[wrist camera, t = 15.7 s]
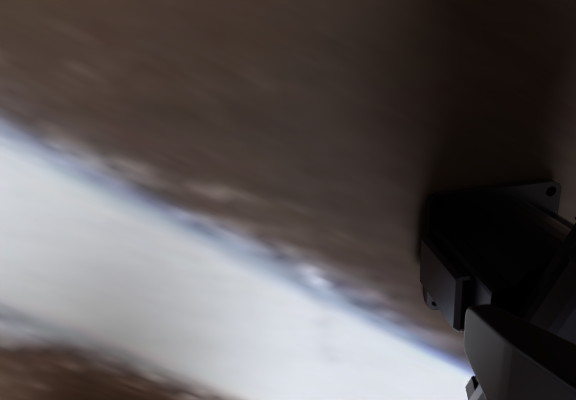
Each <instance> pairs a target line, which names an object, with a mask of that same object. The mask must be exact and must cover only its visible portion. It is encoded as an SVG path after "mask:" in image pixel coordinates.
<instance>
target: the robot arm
mask: <svg viewBox="0 0 576 400" xmlns="http://www.w3.org/2000/svg"><path fill="white" fill-rule="evenodd" d="M549 187H551V189H550V191H549V192H548V193H546V191H547V189H548V188H549ZM560 195H561V186H560V184H559V183H557V182H555V181H554V180H552V179H543V180H534V181H526V182H518V183H510V184H501V185H493V186H485V187H477V188H468V189H460V190H452V191H444V192H436V193H433V194H432V195H430V196H429V198H428V199H427V207H426V234H425V235H424V236H423V237H422V239H421V261H420V281H421V283H422V285H423V286H424V301H425V303H426V305H427V306H428V307H429V309H432V310H439V309H440V311H441V312H442V314H443V315H444V317H445V318H446V319H447V321H448V322H449V324H450V325H451V327H452V328H453V329H455V330H456V331H457V332H462V331H464V349H465V353H466V356H467V358H468V360H469V363H470V365H471V367H472V369H473V371H474V374H475V376H472V377H471V379H470V380H469V382H468V384H467V385H466V392H467V396H468V400H576V223H575V225H574V224H572V223H571V222H569V221H568V220H566V219H564V218H563V217H561V216H559V215H558V208H559V201H560ZM439 200H442V203H441V204H440V205H439V206H437V207H435V203H436V202H437V201H439ZM575 220H576V217H575ZM432 300H433V301H434V302H432Z"/></svg>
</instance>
